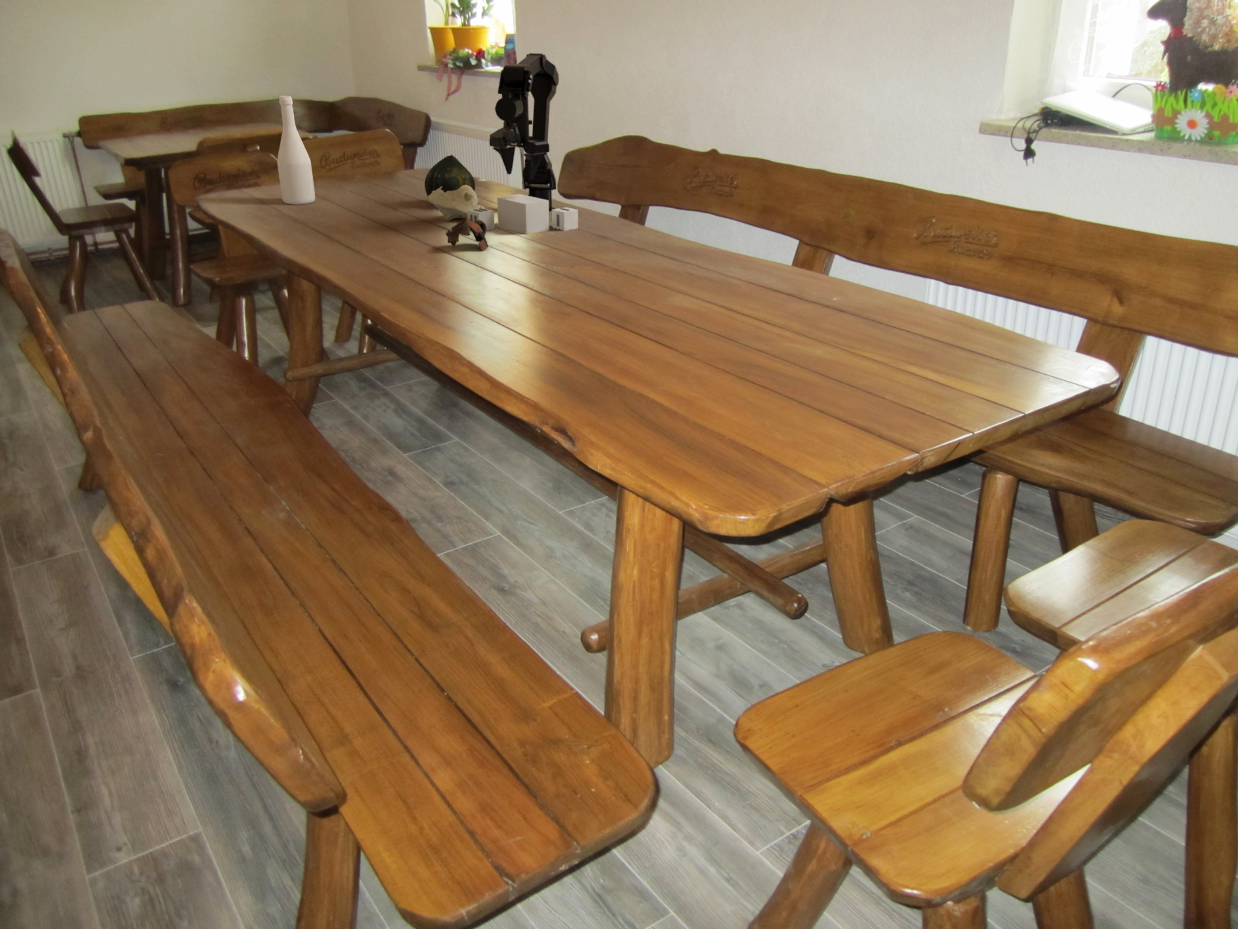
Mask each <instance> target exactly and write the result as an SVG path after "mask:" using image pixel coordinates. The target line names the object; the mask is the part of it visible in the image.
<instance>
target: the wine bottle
mask: <svg viewBox="0 0 1238 929" xmlns="http://www.w3.org/2000/svg"><path fill="white" fill-rule="evenodd" d="M278 101H279V105H280V108H281V118H282V119H281V120H282V133H281V137H280V138H281V139H280V144H279V149H278V154H277V160H276V163H277V171H278V177H279V178H278V179H279V184H280V191H281V192H280V193H281V198H282V201H283V203H284V204H287V205H295V206H296V205H299V206H300V205H307V204H312V203H314V202H315V201H316V193H315V185H314V177H313V170H312V169H313V168H312V161H311V159H310V156H309V153H308V151H307V149H306V147H305V145H304V142H303V140H302V138H301V136H300V134H299V132H298V129H297V126H296V122H295V115H294V107H293V104H294V103H293V98H292V96H291V95H280V96H279V98H278Z"/></svg>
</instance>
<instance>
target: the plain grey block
mask: <svg viewBox="0 0 1238 929" xmlns="http://www.w3.org/2000/svg"><path fill="white" fill-rule="evenodd" d="M496 202H497V226H498V228H502V229H505V230H509V231H513V232H517V233H521V234H525V235H529V233H530V234H536V233H539V232H540V231H541V232H544V231H545V230H546V231H549V230H550V211H549V200H544V199H540V198H535V197H531V196H528V195H526V194H522V193H517V194H511V195H505V196H499V197H496ZM546 231H545V232H546ZM541 232H540V233H541Z"/></svg>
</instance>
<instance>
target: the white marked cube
mask: <svg viewBox="0 0 1238 929" xmlns="http://www.w3.org/2000/svg"><path fill="white" fill-rule="evenodd" d="M494 211H495V210H492V209H488V208H486V207H484V208H478V209H472V210H468V218H469V219H470V220H471V222H475V221H477V220H481V221H483V222H484V223H485V225H486V228H487V230H486V231H491V230H495V227H496V226H495V212H494ZM469 230H470V228H469Z"/></svg>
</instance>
